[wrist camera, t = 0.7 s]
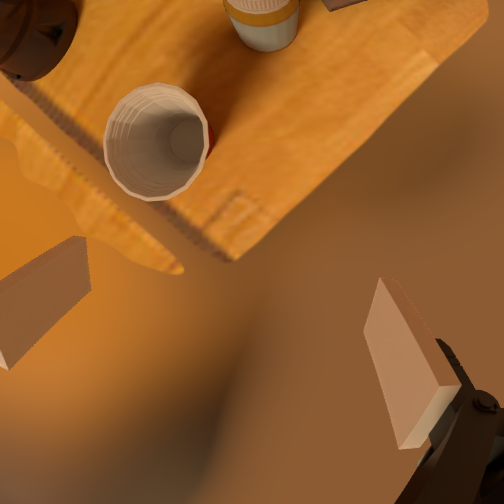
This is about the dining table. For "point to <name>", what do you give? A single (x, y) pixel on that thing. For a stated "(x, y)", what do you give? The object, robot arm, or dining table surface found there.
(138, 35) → the dining table surface
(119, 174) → the plastic cup
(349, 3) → the crate
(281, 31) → the bottle
